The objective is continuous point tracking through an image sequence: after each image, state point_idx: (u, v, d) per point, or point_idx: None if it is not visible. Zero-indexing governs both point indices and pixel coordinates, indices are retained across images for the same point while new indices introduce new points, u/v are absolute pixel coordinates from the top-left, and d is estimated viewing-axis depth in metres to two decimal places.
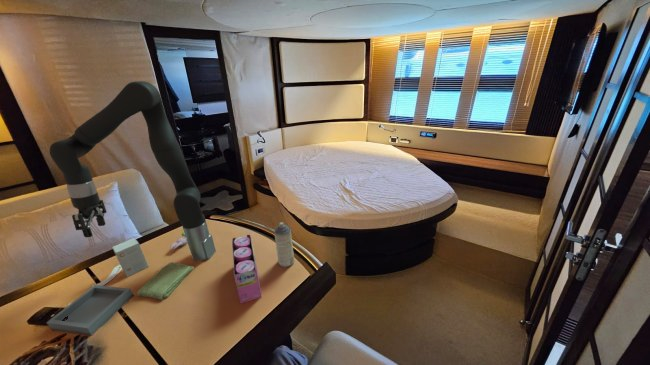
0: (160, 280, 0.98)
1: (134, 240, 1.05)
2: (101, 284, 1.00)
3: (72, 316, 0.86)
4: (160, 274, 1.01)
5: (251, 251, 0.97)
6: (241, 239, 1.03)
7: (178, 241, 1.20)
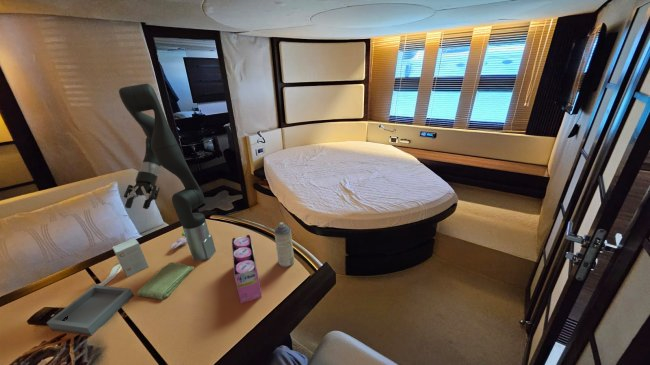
0: (160, 280, 0.98)
1: (134, 240, 1.05)
2: (102, 284, 1.00)
3: (72, 316, 0.86)
4: (160, 274, 1.01)
5: (251, 251, 0.97)
6: (241, 239, 1.03)
7: (178, 241, 1.20)
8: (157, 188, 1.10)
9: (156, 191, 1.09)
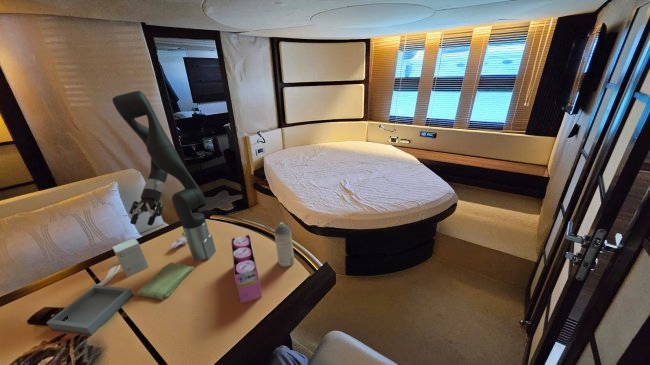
0: (160, 280, 0.98)
1: (134, 240, 1.05)
2: (100, 285, 0.99)
3: (72, 316, 0.86)
4: (160, 274, 1.01)
5: (251, 251, 0.97)
6: (240, 239, 1.03)
7: (178, 240, 1.20)
8: (161, 205, 1.12)
9: (160, 208, 1.12)
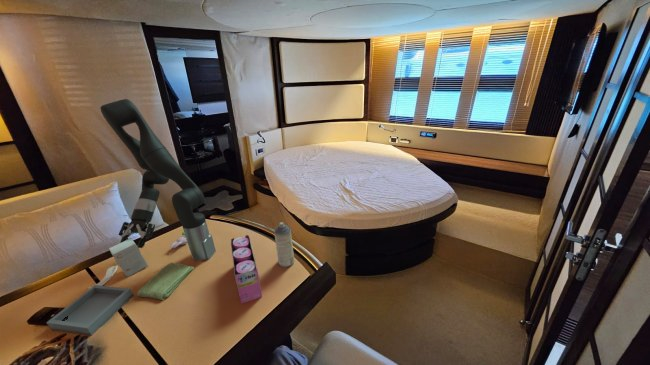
0: (160, 280, 0.98)
1: (131, 240, 1.04)
2: None
3: (72, 316, 0.86)
4: (160, 274, 1.01)
5: (250, 251, 0.97)
6: (240, 240, 1.03)
7: (178, 240, 1.20)
8: (152, 226, 1.08)
9: (151, 229, 1.07)
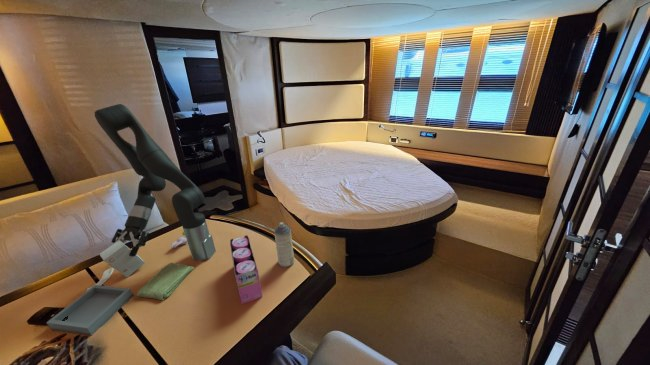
0: (160, 280, 0.98)
1: (119, 242, 1.01)
2: None
3: (72, 316, 0.86)
4: (160, 274, 1.01)
5: (250, 251, 0.96)
6: (239, 240, 1.03)
7: (178, 240, 1.20)
8: (146, 234, 1.05)
9: (145, 237, 1.05)
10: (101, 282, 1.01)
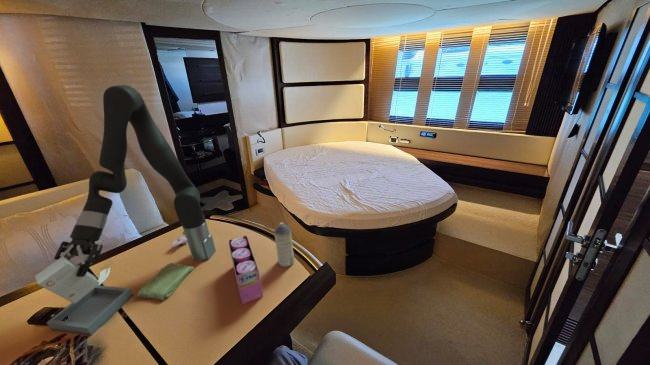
0: (161, 280, 0.98)
1: (62, 260, 0.79)
2: None
3: (72, 316, 0.86)
4: (160, 275, 1.01)
5: (250, 251, 0.96)
6: (238, 240, 1.03)
7: (179, 239, 1.21)
8: (98, 247, 0.83)
9: (97, 252, 0.82)
10: (99, 282, 1.01)
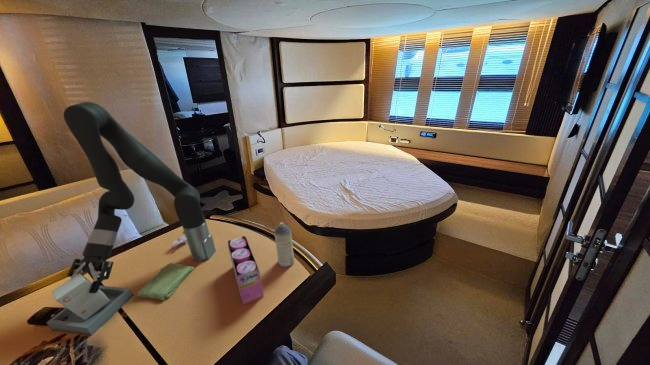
0: (161, 281, 0.97)
1: (80, 277, 0.83)
2: None
3: (72, 316, 0.86)
4: (160, 275, 1.01)
5: (249, 252, 0.96)
6: (237, 241, 1.02)
7: (179, 239, 1.21)
8: (110, 264, 0.86)
9: (108, 268, 0.86)
10: None
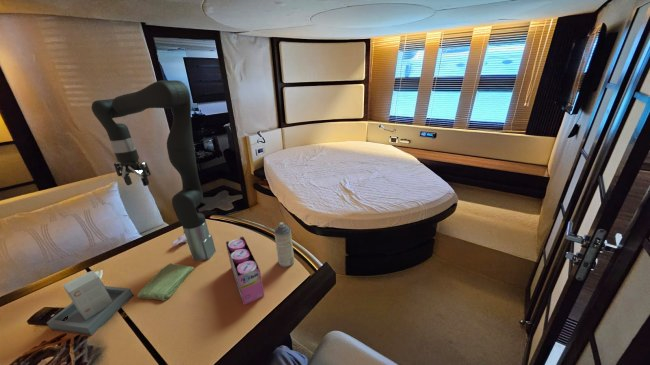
0: (161, 281, 0.97)
1: (92, 273, 0.86)
2: None
3: (72, 316, 0.86)
4: (160, 275, 1.00)
5: (249, 252, 0.96)
6: (235, 242, 1.02)
7: (180, 238, 1.22)
8: (144, 165, 1.05)
9: (145, 168, 1.05)
10: None
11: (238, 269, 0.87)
